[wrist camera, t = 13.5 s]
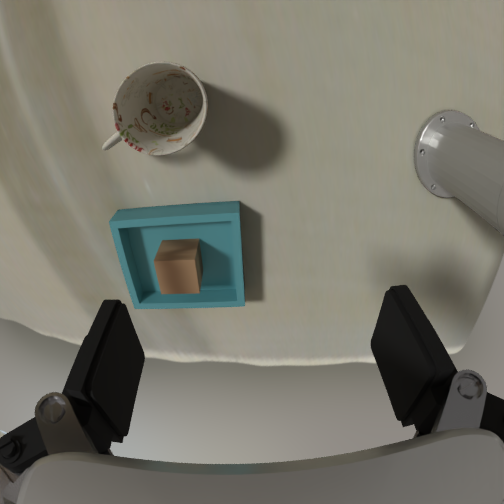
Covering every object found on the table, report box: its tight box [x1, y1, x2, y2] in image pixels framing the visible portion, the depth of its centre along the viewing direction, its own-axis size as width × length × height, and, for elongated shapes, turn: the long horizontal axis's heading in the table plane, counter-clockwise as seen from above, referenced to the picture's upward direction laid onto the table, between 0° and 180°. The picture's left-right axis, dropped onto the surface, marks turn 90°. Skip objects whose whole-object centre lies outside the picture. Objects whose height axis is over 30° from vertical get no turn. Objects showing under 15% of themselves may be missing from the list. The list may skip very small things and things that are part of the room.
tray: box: [109, 201, 245, 309], centre depth 41 cm, size 16×14×4 cm
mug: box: [102, 62, 208, 155], centre depth 28 cm, size 8×13×10 cm, turn 120°
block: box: [154, 238, 203, 294], centre depth 39 cm, size 5×5×5 cm
